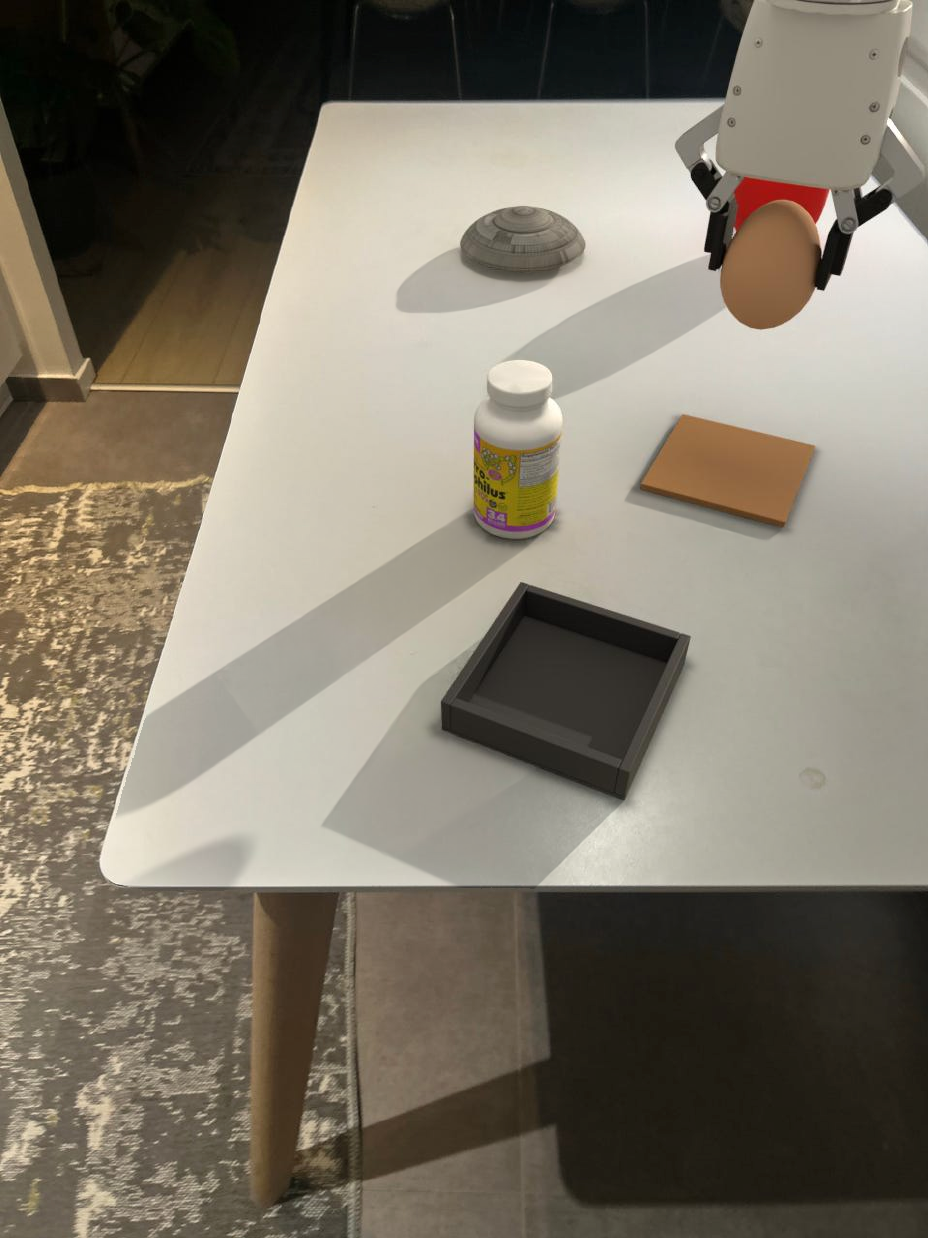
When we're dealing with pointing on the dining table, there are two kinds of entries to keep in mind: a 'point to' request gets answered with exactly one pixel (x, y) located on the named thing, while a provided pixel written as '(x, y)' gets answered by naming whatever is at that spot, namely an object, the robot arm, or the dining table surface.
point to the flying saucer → (522, 240)
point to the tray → (567, 688)
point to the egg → (771, 265)
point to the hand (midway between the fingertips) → (769, 270)
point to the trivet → (730, 469)
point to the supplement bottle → (517, 451)
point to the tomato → (776, 197)
